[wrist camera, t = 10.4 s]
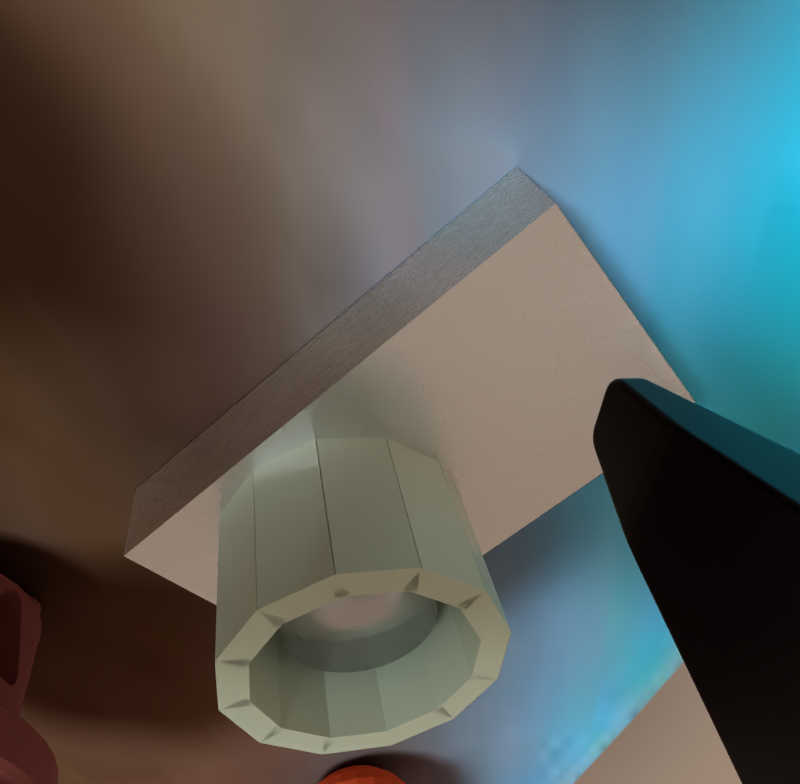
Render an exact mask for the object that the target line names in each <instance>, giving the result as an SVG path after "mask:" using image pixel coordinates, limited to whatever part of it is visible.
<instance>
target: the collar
mask: <svg viewBox="0 0 800 784" xmlns="http://www.w3.org/2000/svg"><path fill="white" fill-rule="evenodd" d="M406 591H410V592H413V593H416V594H419V595H422V596H425V597H428V598H431V599H434V600H436V603H437V610H438V611H437V619H436V622H435V625H434V627H433V629H432V631H431V632H430V634H429V635H428V637H427V638H426V639H425V640H424V641H423V642H422V643H421V644H420V645H419V646H418V647H417V648H416V649H414V650H413V651H411V652H410V653H409V654H407V655H405V656H404V657H402V658H400V659H398V660H396V661H394V662H392V663H389V664H387V665H384V666H381V667H378V668H374V669H370V670H366V671H359V672H348V673H337V672H327V671H322V670H318V669H314V668H311V667H309V666H307V665H304V664H302V663H301V662H299V661H297V660H296V659H295V658H294V657H292V656H291V655H290V653H289V652H288V651H287V650H286V648H285V646H284V644H283V641H282V638H281V625H282V624H284V623H286V622H288V621H290V620H293V619H295V618H297V617H299V616H301V615H304V614H306V613H308V612H310V611H312V610H315V609H317V608H319V607H321V606H323V605H326V604H328V603H330V602H332V601H334V600H337V599H339V598H341V597H346V596H358V595H370V594H382V593H394V592H406ZM510 636H511V630H510V627H509V625H508V622H507V619H506V617H505V614H504V611H503V609H502V606H501V603H500V601H499V598H498V595H497V592H496V590H495V587H494V584H493V582H492V579H491V576H490V574H489V571H488V568H487V566H486V563H485V560H484V558H483V555H482V552H481V550H480V547H479V544H478V542H477V539H476V536H475V534H474V531H473V528H472V526H471V523H470V520H469V518H468V515H467V512H466V510H465V507H464V504H463V502H462V500H461V498H460V496H459V495H458V493H457V491H456V489H455V488H454V486H453V484H452V482H451V481H450V479H449V477H448V475H447V473H446V472H445V470H444V468H443V466H442V465H441V463H440V462H439V461H438V460H436V459H434V458H431V457H429V456H427V455H425V454H423V453H420V452H418V451H416V450H414V449H412V448H409V447H407V446H405V445H403V444H401V443H398V442H396V441H394V440H392V439H390V438H387V437H386V438H385V437H366V438H337V439H316V440H313V441H311V442H309V443H307V444H305V445H303V446H301V447H299V448H297V449H295V450H292V451H290V452H288V453H286V454H284V455H282V456H280V457H278V458H276V459H274V460H272V461H270V462H267V463H265V464H263V465H261V466H259V467H257V468H255V469H254V470H252V472H251V473H250V475H249V476H248V477H247V479H246V480H245V481H244V483H243V484H242V486H241V487H240V488H239V490H238V491H237V492H236V494H235V495H234V497H233V498H232V499H231V501H230V502H229V503H228V505H227V506H226V508H225V509H224V510H223V512H222V513H221V515H220V516H219V547H218V579H217V610H216V642H215V671H216V684H217V698H218V710H219V711H220V712H222V713H223V714H224V715H225V716H227V717H228V718H229V719H230V720H232V721H233V722H234V723H235V724H237V725H238V726H239V727H240V728H242V729H243V730H244V731H245V732H247V733H248V734H249V735H250V736H252V737H253V738H254V739H255V740H257V741H258V742H260V743H264V744H269V745H275V746H280V747H285V748H291V749H296V750H301V751H307V752H312V753H317V754H322V753H323V754H329V753H337V752H344V751H352V750H360V749H368V748H375V747H383V746H391V745H393V744H396V743H398V742H400V741H403V740H405V739H407V738H410V737H412V736H414V735H417V734H419V733H421V732H424V731H426V730H428V729H431V728H433V727H435V726H438V725H440V724H442V723H445V722H447V721H449V720H452V719H453V718H455V717H456V716H457V715H458V714H459V713H461V712H462V711H463V710H464V709H465V708H466V707H467V706H468V705H469V704H470V703H472V702H473V701H474V700H475V699H476V698H477V697H478V696H479V695H480V694H481V693H482V692H484V691H485V690H486V689H487V688H488V687H489V686H490V685H491V684H492V683H493V682H495V681H496V680H497V678H498V676H499V673H500V669H501V666H502V663H503V659H504V656H505V652H506V649H507V646H508V642H509V639H510Z"/></svg>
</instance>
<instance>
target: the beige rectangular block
mask: <svg viewBox="0 0 800 784" xmlns="http://www.w3.org/2000/svg"><path fill="white" fill-rule="evenodd" d="M618 378H643V379H646V380H648V381H651V382H653V383H655V384H657V385H659V386H661V387H663V388H665V389H667V390H669V391H671V392H673V393H675V394H677V395H679V396H681V397H683V398H685V399H687V400H689V401H691V402H693V403H695V401H694V400H693V398H692V397H691V395H690V394H689V393H688V391H687V390H686V388H685V387H684V385H683V384H682V383H681V381H680V380H679V378H678V377H677V375H676V374H675V373H674V371H673V370H672V368H671V367H670V366H669V364H668V363H667V361H666V360H665V358H664V357H663V356H662V354H661V353H660V351H659V350H658V348H657V347H656V346H655V344H654V343H653V341H652V340H651V338H650V337H649V336H648V334H647V333H646V331H645V330H644V328H643V327H642V326H641V324H640V323H639V321H638V320H637V319H636V317H635V316H634V314H633V313H632V311H631V310H630V309H629V307H628V306H627V304H626V303H625V301H624V300H623V299H622V297H621V296H620V294H619V293H618V291H617V290H616V289H615V287H614V286H613V284H612V283H611V281H610V280H609V279H608V277H607V276H606V274H605V273H604V272H603V270H602V269H601V267H600V266H599V264H598V263H597V262H596V260H595V259H594V257H593V256H592V254H591V253H590V252H589V250H588V249H587V247H586V246H585V244H584V243H583V242H582V240H581V239H580V237H579V236H578V234H577V233H576V232H575V230H574V229H573V227H572V226H571V225H570V223H569V222H568V220H567V219H566V217H565V216H564V215H563V213H562V212H561V210H560V209H559V207H558V206H557V205H556V203H555V202H554V201H553V200H552V199H551V198H549V197H548V196H547V195H546V194H545V193H544V192H543V191H542V190H541V189H540V188H539V187H538V186H537V185H536V184H535V183H534V182H533V181H531V180H530V179H529V178H528V177H527V176H526V175H525V174H524V173H523V172H522V171H521V170H520V169H519V168H518V167H516V168H515V169H513V170H512V171H511V172H510V173H509V174H507V175H506V176H505V177H504V178H503V179H502V180H500V181H499V182H498V183H497V184H496V185H494V186H493V187H492V188H491V189H490V190H489V191H487V192H486V193H485V194H484V195H483V196H481V197H480V198H479V199H478V200H477V201H476V202H474V203H473V204H472V205H471V206H470V207H468V208H467V209H466V210H465V211H464V212H463V213H461V214H460V215H459V216H458V217H457V218H455V219H454V220H453V221H452V222H451V223H450V224H448V225H447V226H446V227H445V228H444V229H442V230H441V231H440V232H439V233H438V234H437V235H435V236H434V237H433V238H432V239H431V240H429V241H428V242H427V243H426V244H425V245H424V246H422V247H421V248H420V249H419V250H418V251H416V252H415V253H414V254H413V255H412V256H411V257H409V258H408V259H407V260H406V261H405V262H403V263H402V264H401V265H400V266H399V267H398V268H396V269H395V270H394V271H393V272H392V273H390V274H389V275H388V276H387V277H386V278H385V279H383V280H382V281H381V282H380V283H379V284H377V285H376V286H375V287H374V288H373V289H372V290H370V291H369V292H368V293H367V294H366V295H364V296H363V297H362V298H361V299H360V300H359V301H357V302H356V303H355V304H354V305H353V306H351V307H350V308H349V309H348V310H347V311H346V312H344V313H343V314H342V315H341V316H340V317H338V318H337V319H336V320H335V321H334V322H333V323H331V324H330V325H329V326H328V327H327V328H325V329H324V330H323V331H322V332H321V333H320V334H318V335H317V336H316V337H315V338H314V339H312V340H311V341H310V342H309V343H308V344H307V345H305V346H304V347H303V348H302V349H301V350H299V351H298V352H297V353H296V354H295V355H294V356H292V357H291V358H290V359H289V360H288V361H286V362H285V363H284V364H283V365H282V366H281V367H279V368H278V369H277V370H276V371H275V372H273V373H272V374H271V375H270V376H269V377H268V378H266V379H265V380H264V381H263V382H262V383H260V384H259V385H258V386H257V387H256V388H255V389H253V390H252V391H251V392H250V393H249V394H247V395H246V396H245V397H244V398H243V399H242V400H240V401H239V402H238V403H237V404H236V405H234V406H233V407H232V408H231V409H230V410H229V411H227V412H226V413H225V414H224V415H223V416H221V417H220V418H219V419H218V420H217V421H216V422H214V423H213V424H212V425H211V426H210V427H208V428H207V429H206V430H205V431H204V432H203V433H201V434H200V435H199V436H198V437H197V438H195V439H194V440H193V441H192V442H191V443H190V444H188V445H187V446H186V447H185V448H184V449H182V450H181V451H180V452H179V453H178V454H177V455H175V456H174V457H173V458H172V459H171V460H169V461H168V462H167V463H166V464H165V465H164V466H162V467H161V468H160V469H159V470H158V471H156V472H155V473H154V474H153V475H152V476H151V477H149V478H148V479H147V480H146V481H145V482H143V483H142V484H141V485H140V486H139V487H138V488H136V490H135V495H134V501H133V507H132V512H131V518H130V524H129V529H128V535H127V541H126V546H125V552H124V556H125V557H126V558H128V559H130V560H132V561H134V562H136V563H138V564H140V565H141V566H143V567H145V568H147V569H149V570H151V571H153V572H155V573H157V574H158V575H160V576H162V577H164V578H166V579H168V580H170V581H172V582H173V583H175V584H177V585H179V586H181V587H183V588H185V589H187V590H189V591H190V592H192V593H194V594H196V595H198V596H200V597H202V598H204V599H205V600H207V601H209V602H211V603H213V604H215V605H217V579H218V547H219V516H220V515H221V513H222V512H223V510H224V509H225V508H226V506H227V505H228V503H229V502H230V501H231V499H232V498H233V497H234V495H235V494H236V492H237V491H238V490H239V488H240V487H241V486H242V484H243V483H244V481H245V480H246V479H247V477H248V476H249V475H250V473H251V472H252V470H254V469H255V468H257V467H259V466H261V465H263V464H265V463H267V462H270V461H272V460H274V459H276V458H278V457H280V456H282V455H284V454H286V453H288V452H290V451H292V450H295V449H297V448H299V447H301V446H303V445H305V444H307V443H309V442H311V441H313V440H316V439H337V438H366V437H385V438H386V437H387V438H390V439H392V440H394V441H396V442H398V443H401V444H403V445H405V446H407V447H409V448H412V449H414V450H416V451H418V452H420V453H423V454H425V455H427V456H429V457H431V458H434V459H436V460H438V461H439V462H440V463H441V465H442V466H443V468H444V470H445V472H446V473H447V475H448V477H449V479H450V481H451V482H452V484H453V486H454V488H455V489H456V491H457V493H458V495H459V496H460V498H461V500H462V502H463V504H464V507H465V510H466V512H467V515H468V518H469V520H470V523H471V526H472V528H473V531H474V534H475V536H476V539H477V542H478V544H479V547H480V550H481V552H482V555H484V554H485V553H487V552H488V551H490V550H491V549H493V548H494V547H496V546H497V545H499V544H500V543H501V542H503V541H504V540H506V539H507V538H509V537H510V536H512V535H513V534H515V533H516V532H517V531H519V530H520V529H522V528H523V527H525V526H526V525H528V524H529V523H531V522H532V521H533V520H535V519H536V518H538V517H539V516H541V515H542V514H544V513H545V512H547V511H548V510H549V509H551V508H552V507H554V506H555V505H557V504H558V503H560V502H561V501H563V500H564V499H565V498H567V497H568V496H570V495H571V494H573V493H574V492H576V491H577V490H579V489H580V488H581V487H583V486H584V485H586V484H587V483H589V482H590V481H592V480H593V479H594V478H596V477H597V476H599V475H600V474H602V473H603V472H602V469H601V466H600V463H599V460H598V457H597V454H596V452H595V448H594V444H593V431H594V426H595V423H596V420H597V417H598V414H599V410H600V407H601V404H602V401H603V398H604V395H605V391H606V389H607V386H608V385H609V383H610V382H611V381H613V380H614V379H618ZM437 611H438V610H437V603H436V600H434V599H431V598H428V597H425V596H422V595H419V594H416V593H413V592H410V591H406V592H394V593H382V594H370V595H358V596H346V597H341V598H339V599H337V600H334V601H332V602H330V603H328V604H326V605H323V606H321V607H319V608H317V609H315V610H312V611H310V612H308V613H306V614H304V615H301V616H299V617H297V618H295V619H293V620H290V621H288V622H286V623H284V624H282V625H281V638H282V641H283V644H284V646H285V648H286V650H287V651H288V652H289V653H290V655H291V656H292V657H294V658H295V659H296V660H297V661H299V662H301V663H302V664H304V665H307V666H309V667H311V668H314V669H318V670H322V671H327V672H337V673H348V672H359V671H366V670H370V669H374V668H378V667H381V666H384V665H387V664H389V663H392V662H394V661H396V660H398V659H400V658H402V657H404V656H405V655H407V654H409V653H410V652H411V651H413V650H414V649H416V648H417V647H418V646H419V645H420V644H421V643H422V642H423V641H424V640H425V639H426V638H427V637H428V635H429V634H430V632H431V631H432V629H433V627H434V625H435V622H436V619H437Z"/></svg>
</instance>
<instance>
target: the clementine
mask: <svg viewBox="0 0 800 784" xmlns="http://www.w3.org/2000/svg"><path fill="white" fill-rule="evenodd" d="M318 784H406V783H405V782H403V781H402V780H401V779H400V778H399V777H397V776H396V775H395V774H393V773H391V772H389V771H387V770H384V769H381V768H377V767H374V766H370V765H356V766H350V767H346V768H342V769H340V770H337V771H335V772H333V773H331V774H330V775H328V776H327V777H326V778H324V779H323V780H322V781H321V782H320V783H318Z"/></svg>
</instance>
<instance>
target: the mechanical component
mask: <svg viewBox="0 0 800 784" xmlns="http://www.w3.org/2000/svg"><path fill="white" fill-rule="evenodd" d="M40 613H41V605H40V603H39V602H38V601H37V600H36V599H35V598H33V597H32V596H30V595H28V594H26V593H25V592H24V591H23V590H22V589H21V588H20V587H19V586H18V585H17V584H15V583H14V582H13V581H11V580H10V579H8V578H7V577H5V576H4V575H2V574H0V784H57V783H58V767H57V764H56V760H55V756H54V754H53V752H52V751H51V749H50V747H49V746H48V744H47V742H46V741H45V740H44V739H43V738H42V737H41V736H40V734H39V733H38V732H37V731H36V730H35V729H34V728H33V727H32V726H31V725H29V724H28V723H27V722H26V721H25V720H24V719H22V718H21V717H20V716H19V714H20V711H21V707H22V703H23V700H24V696H25V692H26V689H27V685H28V682H29V678H30V674H31V670H32V666H33V662H34V658H35V654H36V650H37V648H38V645H39V641H40V636H41V630H42V626H41V618H40Z"/></svg>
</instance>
